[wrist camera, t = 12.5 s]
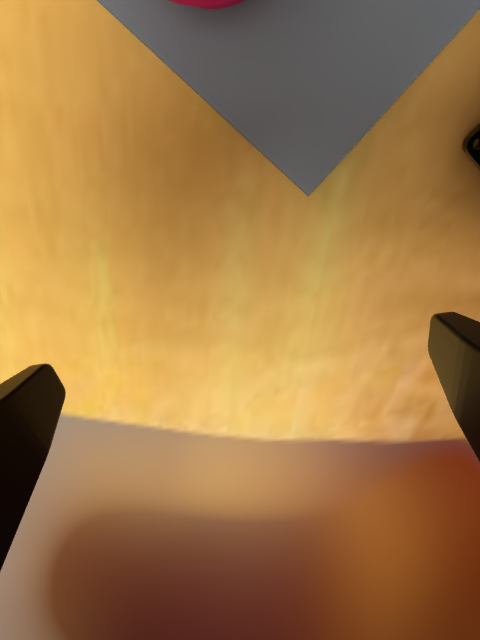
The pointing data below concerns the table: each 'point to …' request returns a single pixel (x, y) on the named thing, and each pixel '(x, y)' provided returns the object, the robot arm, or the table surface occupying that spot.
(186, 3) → the pepper mill
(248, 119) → the mat
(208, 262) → the table surface
